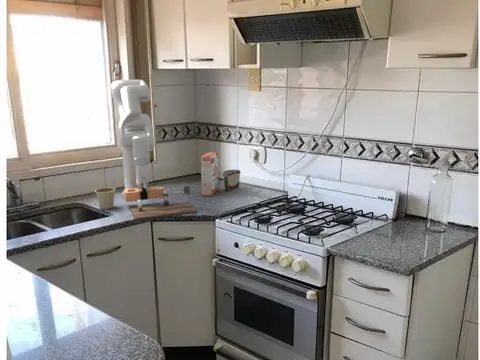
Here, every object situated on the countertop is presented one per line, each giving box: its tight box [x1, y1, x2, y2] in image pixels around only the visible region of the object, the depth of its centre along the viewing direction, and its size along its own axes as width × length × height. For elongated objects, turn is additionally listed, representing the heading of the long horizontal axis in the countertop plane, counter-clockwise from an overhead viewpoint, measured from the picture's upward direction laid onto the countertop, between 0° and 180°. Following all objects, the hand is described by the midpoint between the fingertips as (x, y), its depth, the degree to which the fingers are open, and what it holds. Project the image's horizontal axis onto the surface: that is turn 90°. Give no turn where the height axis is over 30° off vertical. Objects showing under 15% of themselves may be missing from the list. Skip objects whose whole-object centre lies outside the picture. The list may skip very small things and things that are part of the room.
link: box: [123, 186, 165, 203], centre depth 227 cm, size 18×6×4 cm, turn 110°
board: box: [129, 201, 198, 221], centre depth 217 cm, size 16×28×1 cm, turn 110°
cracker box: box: [200, 151, 219, 197], centre depth 248 cm, size 14×6×21 cm, turn 168°
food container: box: [222, 169, 242, 192], centre depth 256 cm, size 12×6×10 cm, turn 144°
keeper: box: [163, 184, 191, 196], centre depth 222 cm, size 13×3×4 cm, turn 85°
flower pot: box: [94, 187, 116, 210], centre depth 224 cm, size 9×9×9 cm
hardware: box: [137, 195, 170, 211], centre depth 219 cm, size 2×16×5 cm, turn 130°
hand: (143, 197), depth 228 cm, fingers closed on link, 3 cm apart
